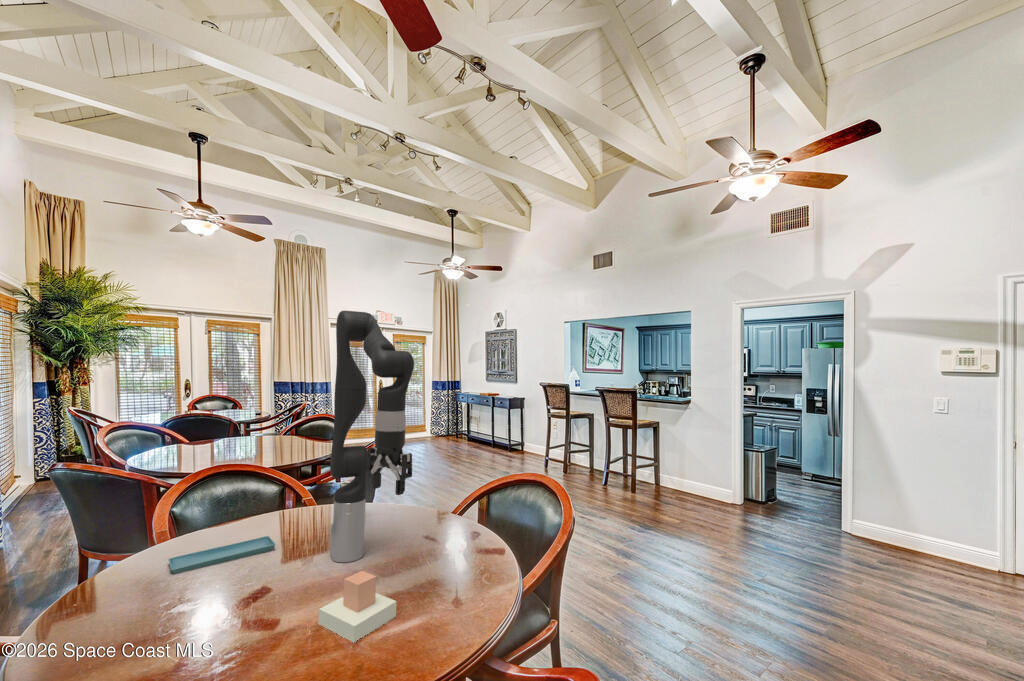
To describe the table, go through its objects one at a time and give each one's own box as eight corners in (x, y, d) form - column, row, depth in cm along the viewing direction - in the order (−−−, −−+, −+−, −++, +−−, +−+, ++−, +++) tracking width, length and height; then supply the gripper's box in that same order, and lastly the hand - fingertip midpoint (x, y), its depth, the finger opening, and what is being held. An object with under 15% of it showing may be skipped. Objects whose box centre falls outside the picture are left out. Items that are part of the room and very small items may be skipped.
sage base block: (318, 627, 100) (319, 609, 100) (361, 603, 110) (362, 587, 110) (353, 645, 94) (354, 626, 94) (395, 618, 104) (396, 601, 104)
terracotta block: (343, 605, 102) (344, 579, 102) (361, 596, 106) (362, 570, 106) (357, 612, 99) (358, 585, 99) (375, 602, 103) (376, 576, 103)
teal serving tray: (170, 577, 121) (171, 568, 121) (167, 565, 128) (168, 557, 128) (275, 552, 139) (276, 544, 139) (268, 543, 145) (268, 535, 146)
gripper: (360, 426, 115) (357, 489, 114) (399, 432, 107) (396, 500, 107) (382, 423, 121) (380, 482, 121) (421, 429, 114) (418, 492, 113)
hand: (387, 491), depth 114 cm, fingers open, 8 cm apart
